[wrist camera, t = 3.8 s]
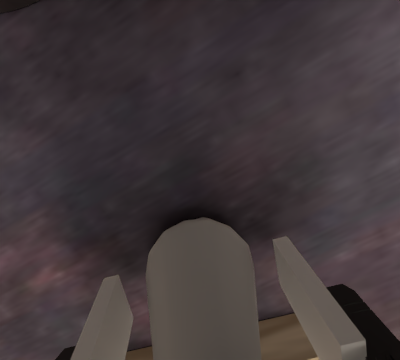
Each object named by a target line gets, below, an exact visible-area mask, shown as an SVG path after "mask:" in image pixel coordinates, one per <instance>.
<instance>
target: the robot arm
mask: <svg viewBox="0 0 400 360" xmlns="http://www.w3.org/2000/svg"><path fill="white" fill-rule="evenodd" d="M37 1H39V0H0V13H5V12H9V11H13V10H16V9H20V8H22V7H25V6H28V5H30V4H33V3H35V2H37ZM272 240H273V247H274V253H275V259H276V265H277V271H278V277H279V284H280V286H281V288H282V290H283V292H284V294H285V295H286V297H287V299H288V301H289V303H290V305H291V307H292V309H293V311H294V313H295V314H296V316H297V318H298V320H299V322H300V324H301V326H302V328H303V330H304V331H305V333H306V335H307V337H308V339H309V341H310V343H311V345H312V347H313V349H314V350H315V352H316V354H317V356H318V358H319V360H400V341H399V340H398V339H397V338H396V337H395V336H394V335H393V334H392V333H391V331H390V330H389V329H388V328H387V327H386V326H385V325H384V324H383V322H382V321H381V320H380V319H379V318H378V317H377V316H376V315H375V313H374V312H373V311H372V310H370V308H369V307H368V306H367V305H366V303H365V302H363V300H362V299H361V298H360V297H359V296H358V294H357V293H356V292H355V291H354V290H352V289H350V288H349V287H347V286H345V285H343V284H339V285H335V286H331V287H325V286H324V284H323V283H322V282H321V280H320V279H319V278H318V276H317V275H316V274H315V272H314V271H313V270H312V268H311V267H310V266H309V264H308V263H307V262H306V260H305V259H304V258H303V257H302V255H301V254H300V253H299V251H298V250H297V249H296V247H295V246H294V245H293V243H292V242H291V241H290V239H289V238H288V237H287V236H285V237H280V238H276V239H272ZM132 323H133V315H132V312H131V309H130V306H129V303H128V300H127V297H126V295H125V292H124V289H123V286H122V283H121V280H120V277H119V275H115V276H110V277H106V278H104V279H103V281H102V284H101V286H100V289H99V291H98V294H97V296H96V298H95V301H94V303H93V306H92V308H91V311H90V313H89V315H88V318H87V320H86V323H85V325H84V328H83V330H82V333H81V335H80V337H79V340H78V342H77V345H76V346H74V347H69V348H65V349H64V350H63V351H62V352H61V353H60V355H59V356H58V357H57V358H56V359H55V360H125V357H126V352H127V347H128V342H129V338H130V333H131V328H132Z"/></svg>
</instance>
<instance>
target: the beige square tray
mask: <svg viewBox="0 0 400 360" xmlns="http://www.w3.org/2000/svg"><path fill="white" fill-rule="evenodd" d="M258 323H259V335H260V347H261V360H319V358H318V356H317V354H316V352H315V350H314V349H313V347H312V345H311V343H310V341H309V339H308V337H307V335H306V333H305V331H304V330H303V328H302V326H301V324H300V322H299V320H298V318H297V316H296V314H295V313H293V314H289V315H285V316H280V317H276V318H272V319H267V320H263V321H259V322H258ZM125 360H153V350H152V346H150V347H146V348H141V349H137V350H133V351H128V352H126V357H125Z"/></svg>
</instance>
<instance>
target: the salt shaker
mask: <svg viewBox="0 0 400 360" xmlns="http://www.w3.org/2000/svg"><path fill="white" fill-rule="evenodd" d="M146 285H147V296H148V307H149V318H150V328H151V339H152V350H153V360H261V347H260V335H259V323H258V311H257V299H256V287H255V274H254V265H253V261H252V257H251V252H250V248H249V245H248V244H247V243H246V242H245V241H244V240H243V239H242V238H241V237H240V236H239V235H238V234H237V233H236V232H235V231H234V230H233V229H232V228H231V227H230V226H228V225H225V224H222V223H220V222H217V221H214V220H212V219H209V218H205V217H201V218H198V219H195V220H184V221H182V222H181V223H179V224H177V225H175V226H172V227H171V228H169V229H167V230H165V231H164V232H163V233H162V235H161V236H160V237H159V239H158V240H157V242H156V243H155V244H154V246H153V247H152V249H151V250H150V252H149V254H148V262H147V269H146Z"/></svg>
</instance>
